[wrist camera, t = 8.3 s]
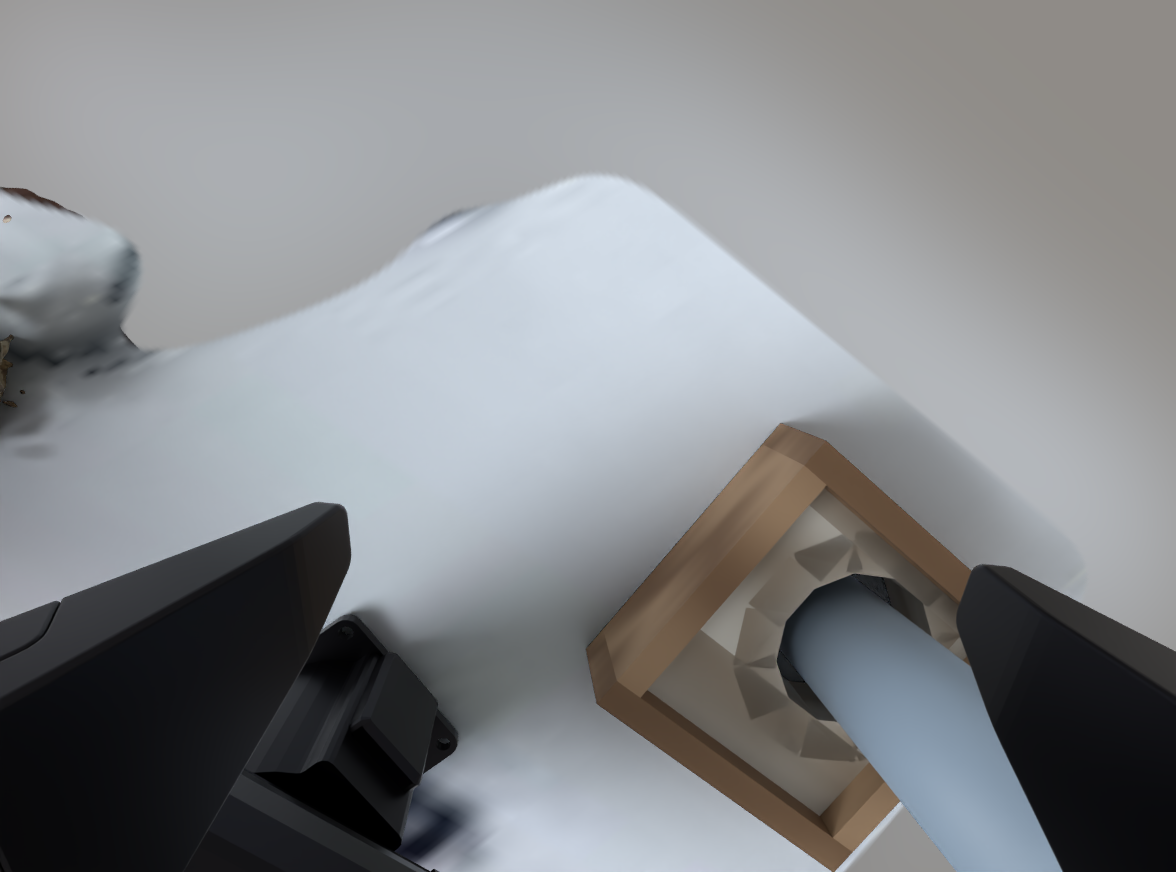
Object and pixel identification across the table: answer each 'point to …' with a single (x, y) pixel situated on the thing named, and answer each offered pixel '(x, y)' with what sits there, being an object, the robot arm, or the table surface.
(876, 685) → the peg
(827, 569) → the walnut box
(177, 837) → the robot arm
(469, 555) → the table surface
